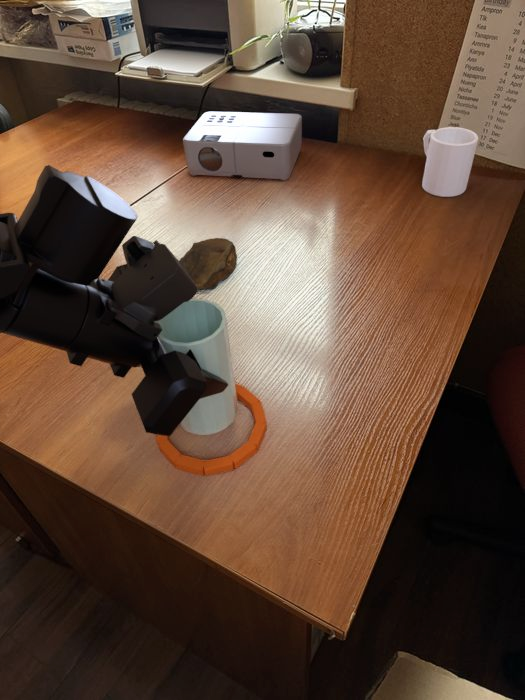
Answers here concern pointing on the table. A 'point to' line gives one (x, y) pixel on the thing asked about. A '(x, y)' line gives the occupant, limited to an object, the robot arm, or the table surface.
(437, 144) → the mug
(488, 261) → the table surface
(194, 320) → the cup
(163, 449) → the ring
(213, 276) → the decorative stone
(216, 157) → the projector
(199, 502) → the table surface
